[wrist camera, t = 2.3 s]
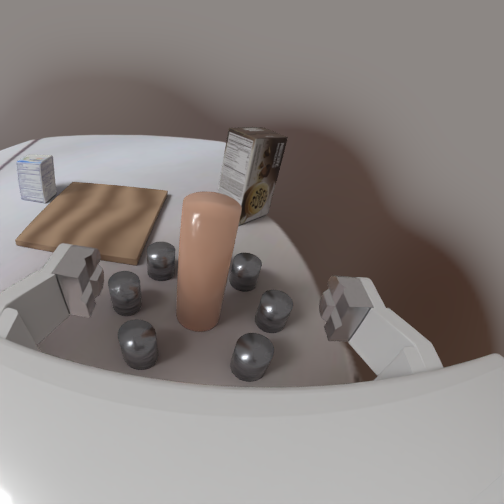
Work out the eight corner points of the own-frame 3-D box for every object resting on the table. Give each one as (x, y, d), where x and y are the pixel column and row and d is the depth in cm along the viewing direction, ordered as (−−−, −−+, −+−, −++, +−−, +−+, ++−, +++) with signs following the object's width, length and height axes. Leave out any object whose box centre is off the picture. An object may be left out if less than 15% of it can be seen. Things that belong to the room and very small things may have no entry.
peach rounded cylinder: (173, 328, 29) (178, 214, 21) (178, 296, 33) (187, 188, 25) (219, 333, 29) (242, 223, 21) (219, 301, 33) (240, 196, 25)
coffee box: (245, 200, 57) (262, 126, 48) (268, 214, 55) (290, 136, 45) (212, 211, 51) (227, 126, 42) (237, 226, 48) (257, 137, 39)
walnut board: (16, 245, 31) (15, 240, 31) (73, 186, 49) (72, 181, 48) (136, 265, 35) (136, 259, 34) (167, 195, 53) (167, 190, 52)
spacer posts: (93, 360, 23) (84, 340, 21) (134, 249, 37) (133, 229, 35) (294, 382, 26) (306, 365, 24) (273, 267, 41) (280, 248, 39)
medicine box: (57, 194, 45) (53, 154, 40) (45, 204, 42) (40, 162, 37) (33, 190, 45) (29, 153, 40) (20, 200, 41) (15, 161, 36)
